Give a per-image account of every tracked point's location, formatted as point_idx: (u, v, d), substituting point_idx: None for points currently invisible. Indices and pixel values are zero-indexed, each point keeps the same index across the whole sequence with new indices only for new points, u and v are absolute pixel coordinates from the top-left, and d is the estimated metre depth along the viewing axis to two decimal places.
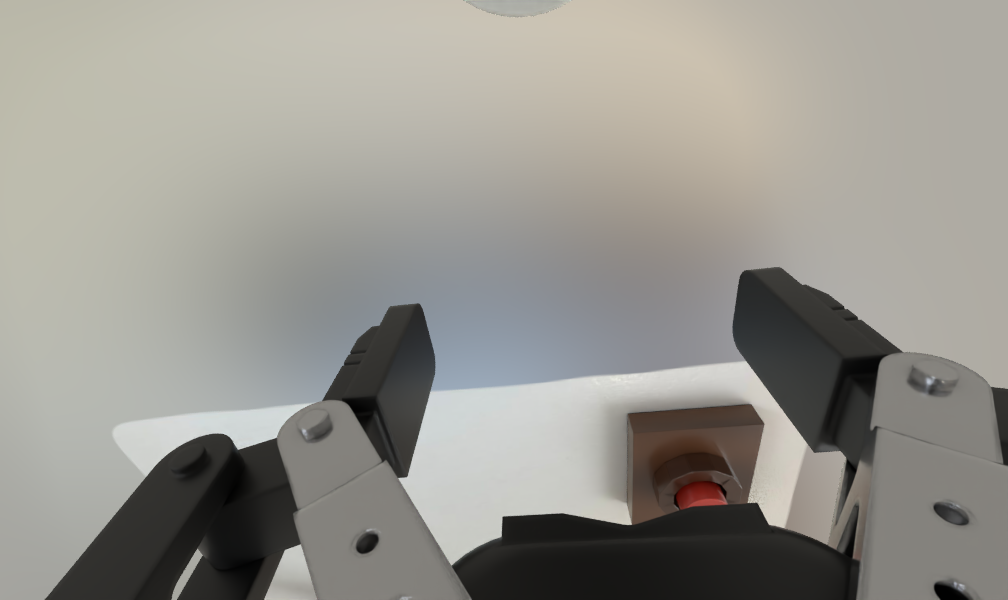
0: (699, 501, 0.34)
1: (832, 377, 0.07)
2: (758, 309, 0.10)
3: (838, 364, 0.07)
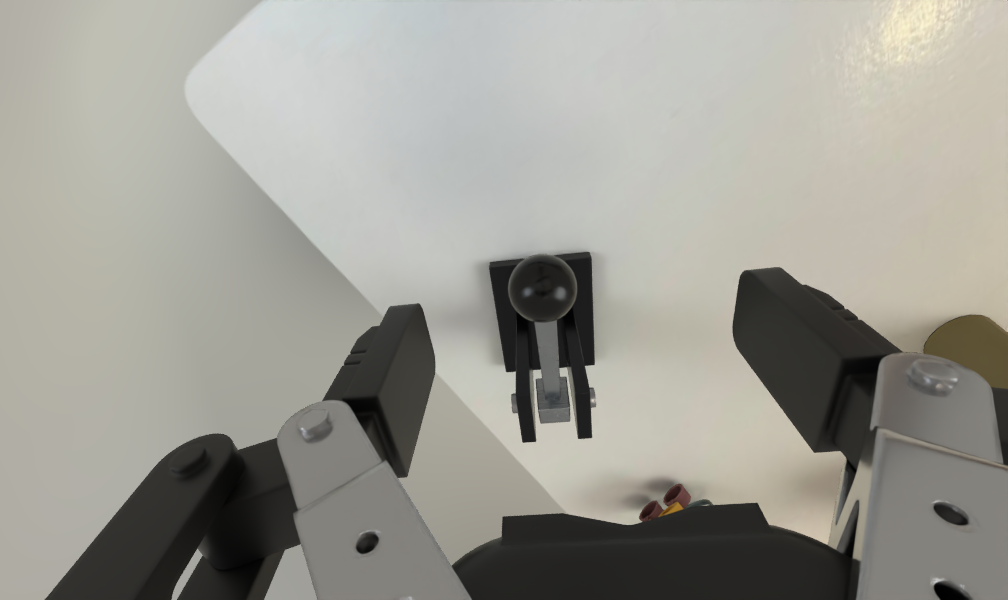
0: None
1: (832, 377, 0.07)
2: (758, 309, 0.10)
3: (838, 364, 0.07)
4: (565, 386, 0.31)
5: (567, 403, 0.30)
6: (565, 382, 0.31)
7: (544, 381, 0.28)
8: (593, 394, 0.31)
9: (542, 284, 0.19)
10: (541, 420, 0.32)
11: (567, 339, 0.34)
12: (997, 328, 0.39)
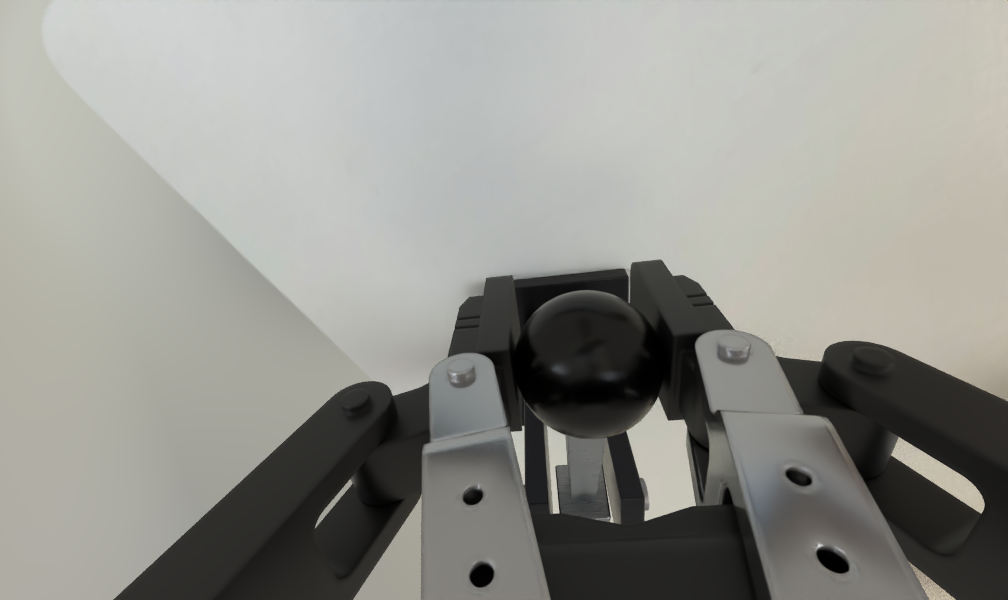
0: None
1: (671, 352, 0.09)
2: (639, 297, 0.11)
3: (673, 341, 0.08)
4: (602, 480, 0.20)
5: (606, 510, 0.19)
6: (601, 473, 0.20)
7: (573, 486, 0.17)
8: (645, 492, 0.20)
9: (594, 366, 0.08)
10: None
11: None
12: None
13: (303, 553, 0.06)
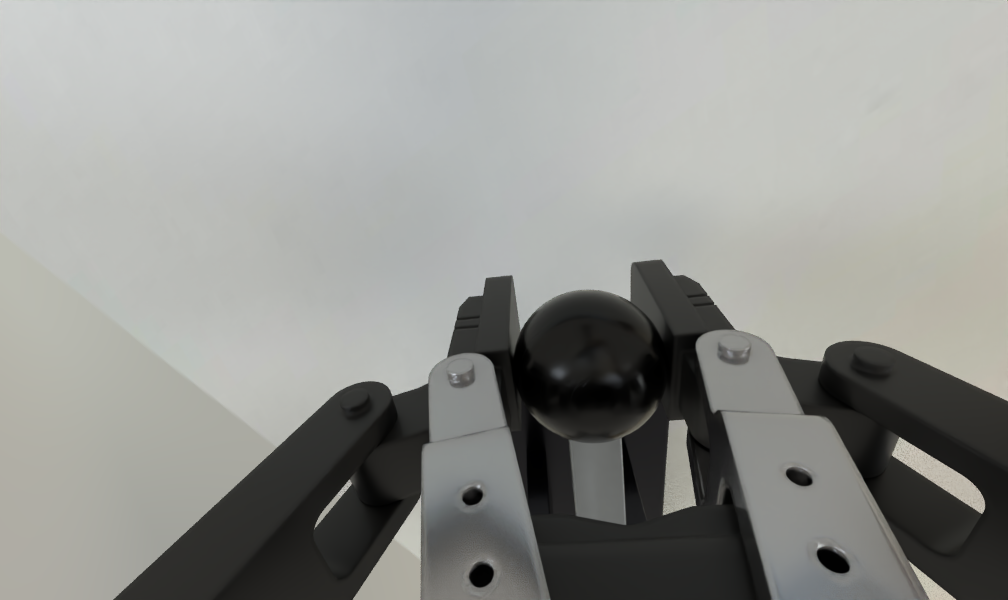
0: None
1: (671, 352, 0.09)
2: (640, 297, 0.11)
3: (674, 340, 0.08)
4: None
5: None
6: None
7: None
8: None
9: (589, 317, 0.08)
10: None
11: None
12: None
13: (303, 553, 0.06)
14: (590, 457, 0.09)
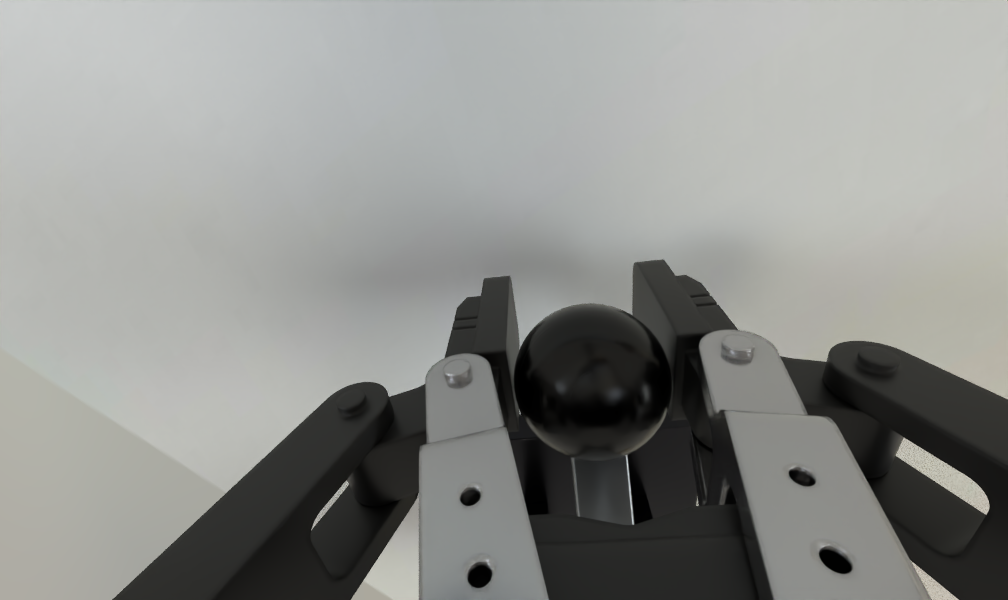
0: None
1: (674, 352, 0.08)
2: (642, 297, 0.11)
3: (677, 341, 0.08)
4: None
5: None
6: None
7: None
8: None
9: (588, 318, 0.08)
10: None
11: None
12: None
13: (300, 554, 0.06)
14: (595, 483, 0.09)
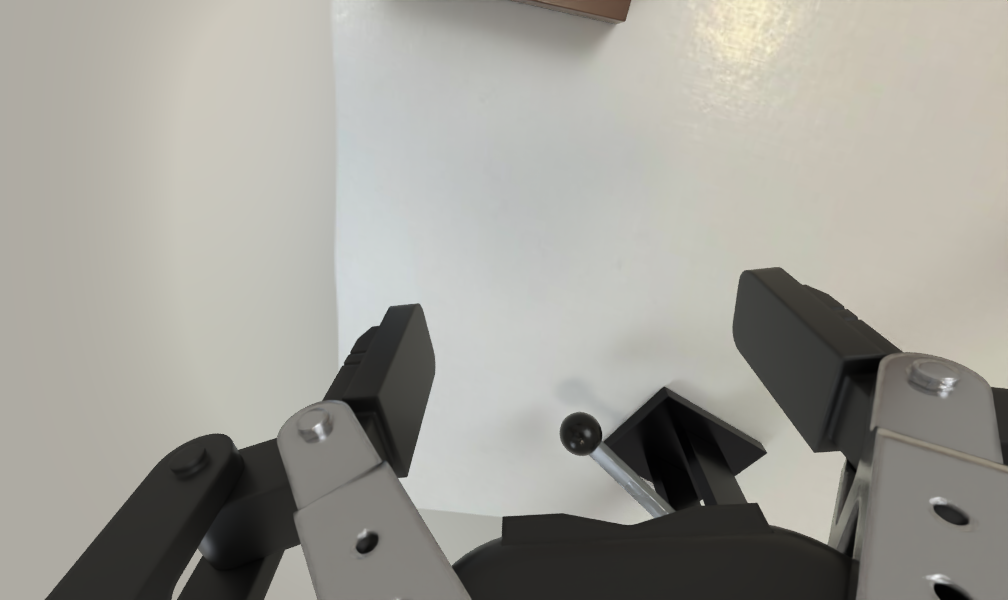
0: None
1: (832, 377, 0.07)
2: (758, 309, 0.10)
3: (838, 364, 0.07)
4: None
5: None
6: None
7: None
8: None
9: (564, 425, 0.33)
10: None
11: (703, 499, 0.33)
12: None
13: None
14: (597, 456, 0.32)
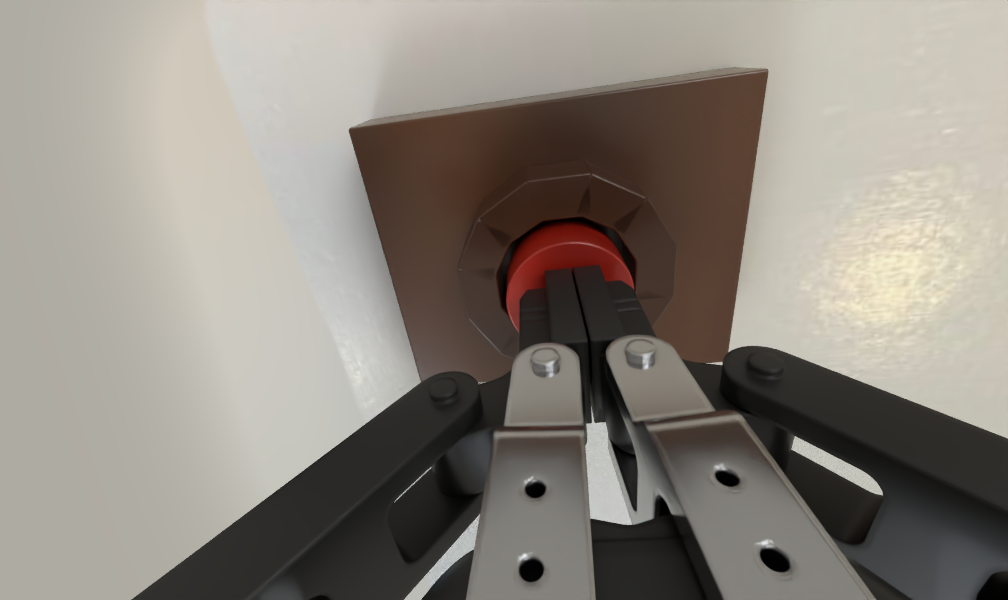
0: (517, 327, 0.13)
1: (591, 356, 0.09)
2: None
3: (592, 345, 0.09)
4: None
5: None
6: None
7: None
8: None
9: None
10: None
11: None
12: None
13: (376, 533, 0.06)
14: None
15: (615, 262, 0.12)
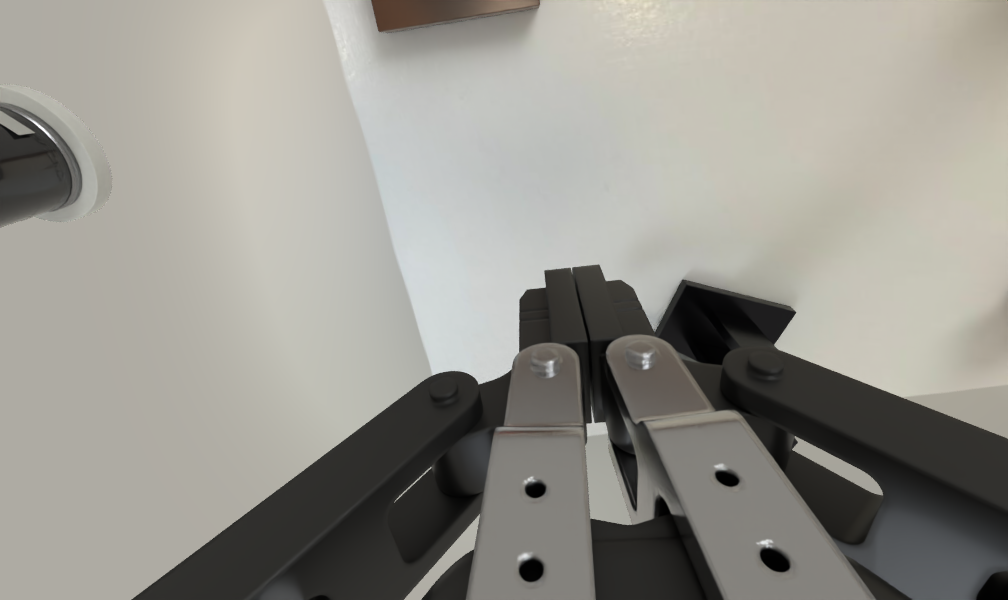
0: None
1: (591, 356, 0.09)
2: None
3: (592, 345, 0.09)
4: None
5: None
6: None
7: None
8: None
9: None
10: None
11: None
12: None
13: (375, 533, 0.06)
14: None
15: None
